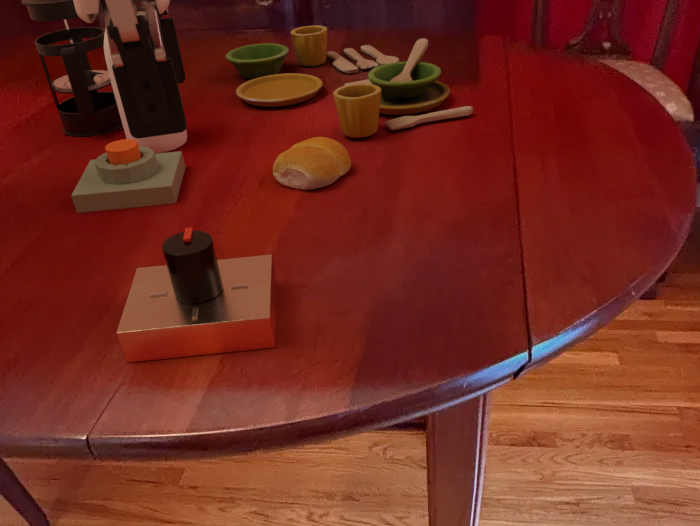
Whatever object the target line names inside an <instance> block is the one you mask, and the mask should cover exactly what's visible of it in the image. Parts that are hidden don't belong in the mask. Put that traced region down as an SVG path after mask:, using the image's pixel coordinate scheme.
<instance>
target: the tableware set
mask: <svg viewBox="0 0 700 526" xmlns="http://www.w3.org/2000/svg"><path fill="white" fill-rule="evenodd" d="M289 32H290V37H291V40H292V44H293V48H294V53H295V55H296V59H297V63H298V64H299V66H301V67H317V66H321V65H323V64H325V63H326V60H327V58H328V59H330V60H332V61H333V62H332V66H334V68H336V69H337V70H339V71H340V72H341V73H344V74H347V75H351V74H357V73H359V70H363V71H365V70H367V69H371V70H370V71H369V72H368V73H367V79H361V80H357V81H352V82H346V83H344V85H342V86H340V87H338V88H335V89H334V91H333V92H332V95H333V100H334V103H335V107H336V111H337V112H336V113H337V117H338V120H339V125H340V129H341V133H342V134H343V135H344V136H346V137H348V138H353V139H360V138H361V139H362V138H366V137H370V136H372V135H374V134H376V133H377V132H378V128H379V119H380V118H379V116H380V114H382V115H389V116H400V117H396V118H392V119H389V120H386V121H384V125H385V126H386V127H387V128H388V129H389V130H390V131H398V130H403V129H408V128H413V127H414V126H416V125H418V124H422V123H423V124H424V123H429V122H435V121H442V120H450V119H454V118H461V117H467V116H470V115H472V114H473V113H474V107H473V106H470V105H464V106H460V107H455V108H449V109H444V110H439V111H434V112H433V111H432V112H429V113H425V112H428V111H431V110H433V109H435V108H437V107H439V106H440V105H441V104H442V103H444V101H445V100H446V99H447V98H448V97H449V95H450V92H451V90H450V87H449V86H448V85H447V84H445V83H444V82H441V81H438V80H439V78H440V77H441V75H442V69H441V68H440V67H439V66H437V65H436V64H433V63H430V62H424V61H421V59H422V57H423V55H424V54H425V52H426V51H427V49H428V47H429V40H428V39H427V38H425V37H424V38H423V37H422V38H419V39H417V40H416V41H415V43H414V45H413V47H412V49H411V51H410V54H409V56H408V59H407V60H406V61H400V58H399V57H397V56H393V55H387V54H386V55H385V54H384V53H382V52H380V51H379V50H378V49H376V48H375V47H374V46H372V45H370V44H363V45H361V46H360V52H361V53H364V54H365V55H367V56H369V55H370V56H369V57H371V58H372V59H375V61H374V60H372V59H366V58H364V57H363V56H362V55H361V54H360V53H358V51H356V50H355V49H354V48H352V47H346V48H344V49H343V54H344V55H345V56H347V57H348V58H350V59H351V60H353V61H354V62H356V65H355V64H353V62H350V61H349V60H348V59H346V58H345V57H343V56H342V55H340V54H339V53H338V52H336V51H333V50H332V51H327V49H328V48H327V47H328V27H327V26H324V25H317V24H316V25H306V26H299V27H296V28H293V29H291V31H289ZM289 52H290V49H289V48H288V46H286V45H283V44H280V43H272V42H271V43H270V42H269V43H253V44H248V45H243V46H239V47H236V48H234V49H231V50H229V51H228V52H227V53H226V55H225V59H226V61H228V62H229V63H230V64H232V66H233V67H234V69H235V71H237V72H238V73H239V75H240V76H241V77H242V78H245V79H249V80H247V81H245V82H243V83H242V84H240V85H239V86H238V87H237V88H236V89H235V90H236V91H235V94H236V96H238V98H239V99H241V100H242V101H243V102H245V103H246V104H248V105H250V106H255V107H262V108H276V107H277V108H279V107H285V106H292V105H296V104H300V103H304V102H306V101H309V100H311V99H312V98H314V97H315V96H317V94H318V92H319V91H321V89H322V87H323V84H324V82H323V81H322V79H321V78H320V77H317V76H315V75H312V74H306V73H295V72H289V73H287V72H285V73H280V71H281V69H282V66H283V63H284V61H285V59H286V58H287V56H288V54H289ZM420 113H423V114H420ZM413 114H420V115H413ZM401 115H403V116H401Z"/></svg>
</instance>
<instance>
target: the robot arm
mask: <svg viewBox="0 0 700 526" xmlns="http://www.w3.org/2000/svg"><path fill="white" fill-rule="evenodd" d="M170 1H171V0H73V2H74V6H75V10H76V13H77V15H78V16H79V17H78V18H80V19H81V20H82V21H83V22H84V23H87V24H93V23H94V22H95V21H96V18H97V17H98V14H99V12H100V10H101V11H102V14H103V20H104V25H105V28H106V32H107V37H108V43H109V48H110V54H111V58H112V61H113V65H112V69H113V73H114V77H115V80H116V84H117V87H118V91H119V95H120V98H121V102H122V105H123V109H124V113H125V116H126V120H127V123H128V127H129V130H130V134H131V135H132V136H133V137H134V138H146V137H153V136H160V135H167V134H174V133H181V132H184V131H185V130H186V131H187V119H186V116H185V115H186V114H185V109H184V105H183V101H182V97H181V92H180V87H179V84H183V83H184V82H185V81H186V72H185V67H184V63H183V62H184V61H183V59H182V53H181V50H180V44H179V40H178V35H177V32H176V26H175V22H174V18H173V17H170V14H169V13H170V12H169V9H168V7H169V6H170Z"/></svg>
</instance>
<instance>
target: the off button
mask: <svg viewBox="0 0 700 526" xmlns="http://www.w3.org/2000/svg"><path fill="white" fill-rule="evenodd" d="M104 149H105V153H107V157H108V160H109V163H110V164H113V165H121V164H128V163H131V162H135V161H137V160H139V159H140V158H141V153H140V149H139V146H138V142H137V141H136V140H132V139H127V138H124V139H118V140H117V139H116V140H114V141H112V142H110V143H107V144H106V145H105V147H104Z"/></svg>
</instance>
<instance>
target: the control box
mask: <svg viewBox="0 0 700 526" xmlns="http://www.w3.org/2000/svg"><path fill="white" fill-rule="evenodd" d="M139 149H140V153H141V158H140V159H139V160H137V161H135V162H131V163H128V164H121V165H113V164H110V163H109V160H108V157H107V153H106V152H103V153H102V154H100V155H99V156H97V157H96V159H90V160H89V161H88V163H87V166H86V167H85V169H84V171H83V173H82V175H81V177H80V178H79V180H78V182H77V184H76V186H75V187H74V190H73V191H72V193H71V196H70V197H71V200H72V202H73V206H74V208H75V211H76V213H77V214H80V213H81V214H82V213H91V212H92V213H93V212H101V211H110V210H120V209H121V210H122V209H132V208H142V207H153V206H162V205H173V204H176V203H177V200H178V196H179V194H180V190H181V185H182V183H183V178H184V175H185V171H186V163H185V159H184V155H183V151H181V150H179V151H171V152H170V151H167V152H163V153H156V154H155V152H154V151H153V150H152V149H150V148H149V147H142V146H139Z"/></svg>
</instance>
